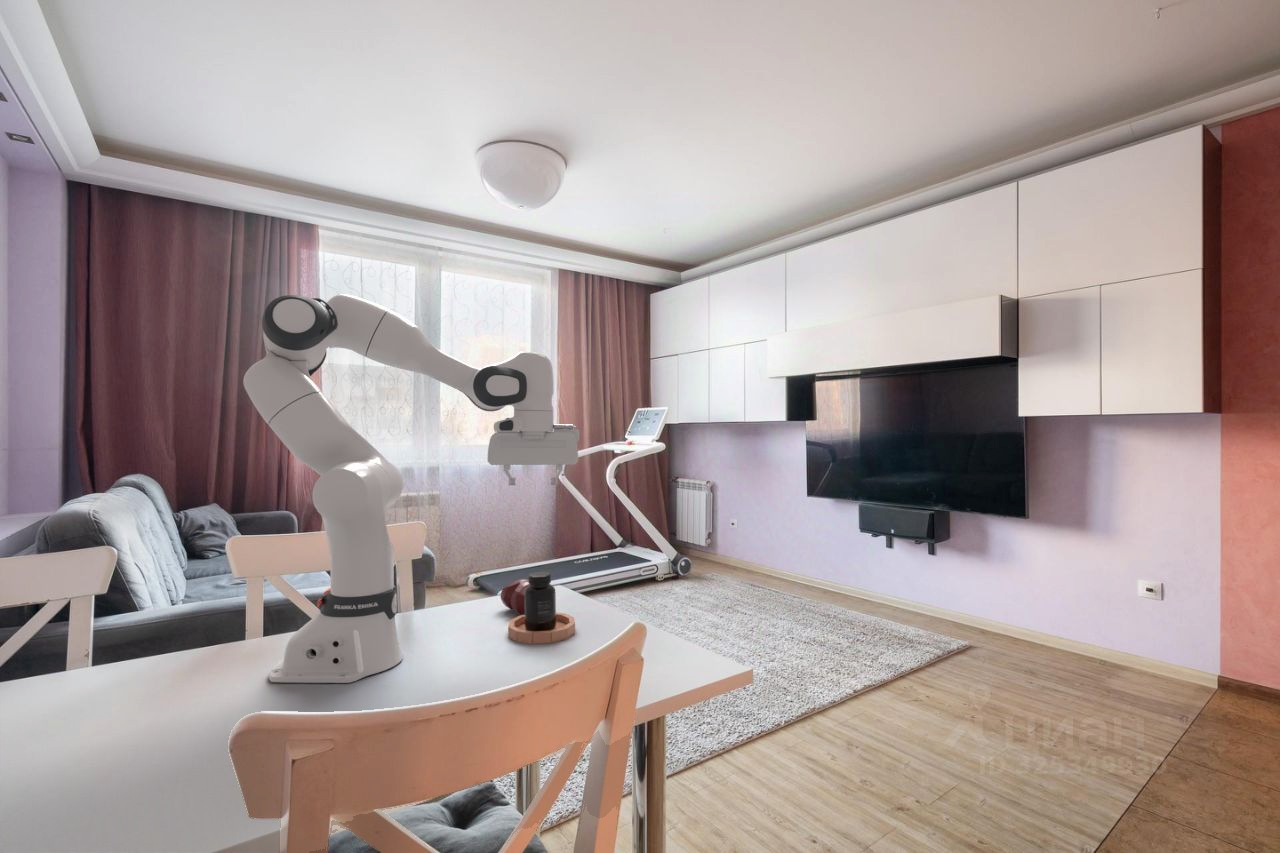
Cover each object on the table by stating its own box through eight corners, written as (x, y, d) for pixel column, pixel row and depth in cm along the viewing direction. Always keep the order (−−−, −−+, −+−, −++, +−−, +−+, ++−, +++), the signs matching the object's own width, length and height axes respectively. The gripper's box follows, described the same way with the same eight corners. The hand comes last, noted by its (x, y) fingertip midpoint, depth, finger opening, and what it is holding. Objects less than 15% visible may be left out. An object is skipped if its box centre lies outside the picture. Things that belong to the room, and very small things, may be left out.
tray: (506, 645, 125) (506, 635, 125) (510, 623, 139) (510, 613, 139) (576, 641, 127) (576, 630, 127) (572, 619, 142) (572, 610, 142)
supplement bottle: (559, 623, 136) (559, 570, 136) (551, 634, 130) (551, 578, 130) (529, 623, 137) (529, 570, 137) (520, 633, 130) (520, 577, 130)
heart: (534, 598, 157) (498, 610, 151) (530, 569, 156) (494, 581, 150) (556, 611, 147) (519, 624, 141) (553, 580, 146) (515, 592, 140)
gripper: (578, 424, 142) (578, 483, 142) (489, 423, 138) (488, 484, 138) (580, 424, 135) (580, 485, 135) (486, 423, 132) (486, 486, 132)
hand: (533, 484), depth 137 cm, fingers open, 8 cm apart
